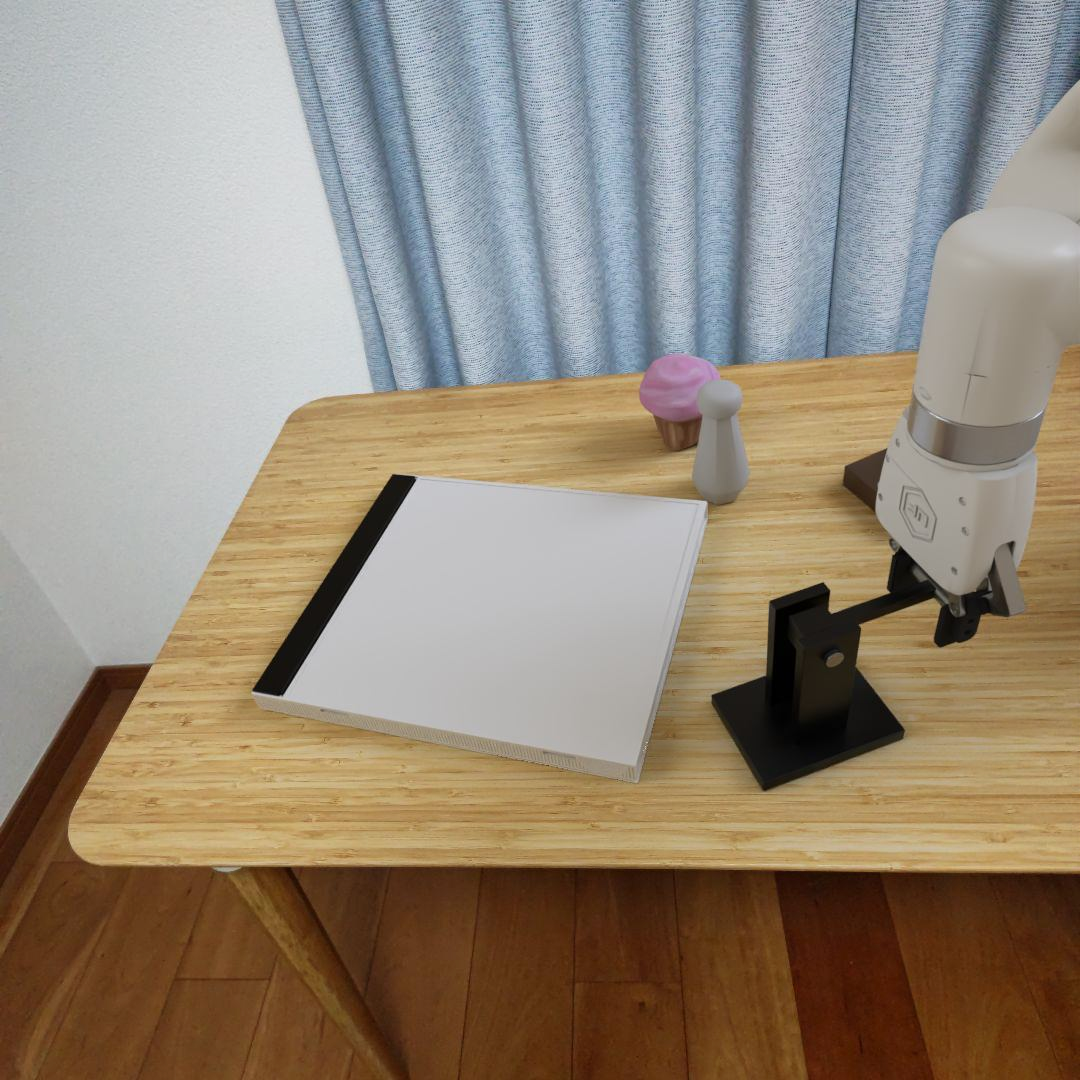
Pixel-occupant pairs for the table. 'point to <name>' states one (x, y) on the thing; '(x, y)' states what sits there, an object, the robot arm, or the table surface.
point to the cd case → (498, 621)
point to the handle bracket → (805, 700)
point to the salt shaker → (720, 444)
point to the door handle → (867, 607)
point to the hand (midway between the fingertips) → (929, 610)
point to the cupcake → (676, 396)
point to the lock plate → (865, 477)
